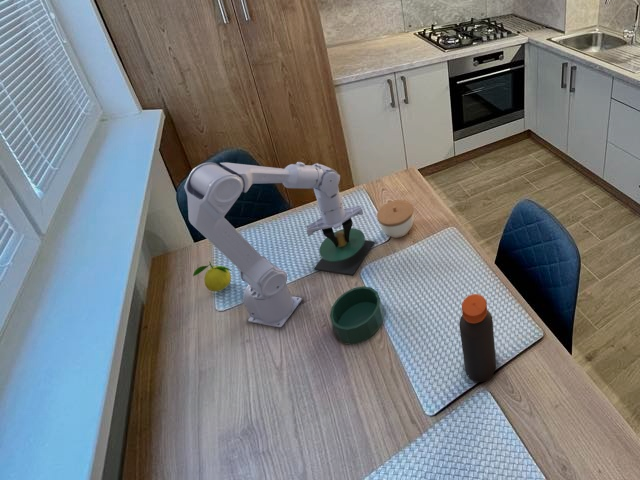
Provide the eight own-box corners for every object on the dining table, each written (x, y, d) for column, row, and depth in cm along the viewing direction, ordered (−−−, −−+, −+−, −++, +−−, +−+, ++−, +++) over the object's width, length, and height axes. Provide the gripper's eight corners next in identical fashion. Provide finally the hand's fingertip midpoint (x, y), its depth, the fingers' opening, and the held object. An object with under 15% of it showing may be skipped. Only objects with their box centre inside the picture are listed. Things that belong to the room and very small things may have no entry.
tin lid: (310, 260, 111) (306, 248, 109) (336, 228, 122) (332, 216, 120) (350, 266, 109) (347, 253, 107) (373, 233, 120) (370, 221, 118)
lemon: (202, 294, 107) (188, 267, 103) (224, 276, 112) (211, 250, 107) (219, 302, 105) (205, 275, 100) (240, 284, 109) (228, 257, 105)
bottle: (500, 356, 90) (496, 294, 81) (489, 387, 84) (483, 325, 75) (472, 347, 92) (465, 286, 83) (459, 377, 86) (450, 314, 77)
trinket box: (380, 246, 120) (374, 222, 116) (382, 222, 129) (376, 198, 125) (417, 239, 122) (412, 215, 118) (416, 215, 131) (412, 192, 127)
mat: (314, 269, 113) (313, 268, 113) (339, 238, 124) (338, 236, 123) (353, 275, 111) (352, 274, 110) (374, 243, 121) (374, 241, 121)
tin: (325, 339, 95) (320, 324, 92) (351, 298, 104) (347, 283, 102) (369, 348, 92) (364, 332, 90) (391, 304, 102) (387, 290, 100)
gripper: (304, 224, 102) (317, 263, 108) (362, 202, 109) (371, 239, 115) (299, 209, 108) (312, 246, 114) (355, 188, 115) (364, 225, 121)
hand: (341, 242), depth 115 cm, fingers closed on tin lid, 2 cm apart
